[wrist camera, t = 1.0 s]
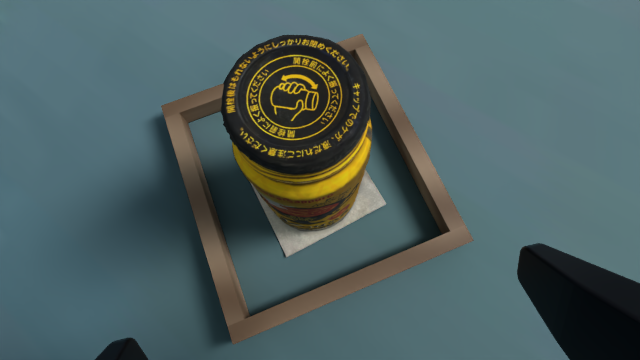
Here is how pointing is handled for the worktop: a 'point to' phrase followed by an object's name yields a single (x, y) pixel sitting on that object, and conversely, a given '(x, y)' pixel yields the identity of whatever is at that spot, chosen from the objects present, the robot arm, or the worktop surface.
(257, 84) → the condiment
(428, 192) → the walnut frame
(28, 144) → the worktop surface
